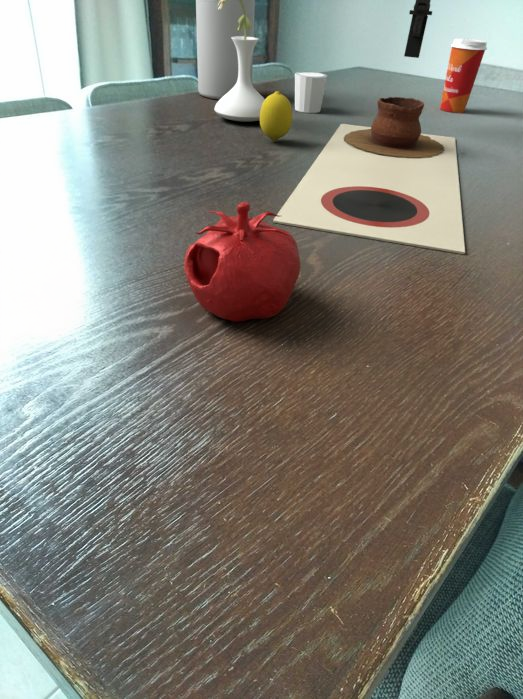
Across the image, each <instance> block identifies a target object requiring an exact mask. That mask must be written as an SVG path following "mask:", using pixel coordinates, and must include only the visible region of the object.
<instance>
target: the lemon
mask: <svg viewBox="0 0 523 699" xmlns="http://www.w3.org/2000/svg"><path fill="white" fill-rule="evenodd" d="M264 99H265V100H264V102H263V104H262V107H261V110H260V120H259V126H260V128H261V131H262V132H263V134H264V135H265V136H266V137H268V138H269V139H270V140H271V141H272V142H273V143H276V142H277V141H278V140H279V139H281V138H283V137H285V136H286V135H287V134H288V133H289V131H290V129H291V126H292V122H293V111H292V105H291V102H290V100H289V99H288V97H286V95H284V94H282V93H281V92H280V91H278V90H277V91H274V92H273V93H271V94H269V95H268V96H267V97H266V98H264Z"/></svg>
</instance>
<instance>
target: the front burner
mask: <svg viewBox="0 0 523 699" xmlns="http://www.w3.org/2000/svg"><path fill="white" fill-rule="evenodd" d="M321 203H322V205H323V207H324V208H325V209H326V210H327V211H329V212H330V213H332V214H333V215H335V216H337V217H339V218H342V219H344V220H347V221H351V222H354V223H358V224H362V225H368V226H375V227H389V228H395V227H407V226H413V225H417V224H419V223H422V222H424V221H425V220H426V219H427V218H428V217H429V214H430V213H429V210H428V208H427V207H426V205H424V204H423V203H422V202H421V201H419V200H417V199H415V198H413V197H411V196H409V195H406V194H403V193H400V192H397V191H393V190H388V189H383V188H376V187H363V186H353V187H343V188H337V189H334V190H331V191H329V192H327V193H325V194H324V195H323V196H322V198H321Z"/></svg>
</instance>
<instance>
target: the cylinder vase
mask: <svg viewBox="0 0 523 699" xmlns="http://www.w3.org/2000/svg"><path fill="white" fill-rule="evenodd" d="M219 2H220V0H195V15H196V16H195V18H196V19H195V20H196V21H195V22H196V23H195V24H196V57H197V58H196V59H197V60H196V61H197V63H196V64H197V91H198V94H199V95H200V96H202V97H204V98H207V99H212V100H217V101H219V100H220V99H221V98H222V97H223V96H224V95H225V94H227V93H228V92H229V91H230V90H231V89H232V88H233V87H234V86H235V85H236V83H237V80H238V71H239V69H238V55H237V49H236V46H235V44H234V42H233V40H232V38H231V37H236V36H243V37H244V29H243V28H241V30H240V31H239V32H237V29H238V27H239V23H238V20H239V18H240V17H241V16H242V15H243V9H242V6H241V3H240V0H227V1H226V3H225V5H224V6H223V8H222V9H221V10H220V9H219V10H218V8H219V7H220V5H221V4H220V5H219V6H218V4H219ZM242 2H243V6H244V9H245V14H246V16H247V18H248V20H249V21H250V23H251V25H252V27H251V28H250V29H248V30H246V37H254V38H255V36H254V34H255V8H256V0H242ZM253 64H254V52H253V53H252V57H251V65H250V79H251V83H252V84H253V70H254V69H253V67H254V65H253Z"/></svg>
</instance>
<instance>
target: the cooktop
mask: <svg viewBox="0 0 523 699" xmlns="http://www.w3.org/2000/svg"><path fill="white" fill-rule="evenodd" d="M371 127H372V126H363V125H354V124H347V123H340V125H339V126H338V128H337V129H336V130H335V132H334V133H333V135H332V136H331V137H330V139H329V140H328V141H327V143H326V145H325V146H324V147H323V149H321V151H320V153H319V155H318V156H317V157H316V159H315V160H314V161H313V163H312V165H310V167H309V169H308V170H307V172H306V173H305V175H304V176H303V177H302V179H301V180H300V181H299V183H298V184H297V186H296V187H295V189H294V190H293V191H292V193H291V194H290V195H289V197H288V198H287V200H286V201H285V203H284V204H283V205H282V206H281V208H280V210H279V211H278V212H277V214H276V215H279V216H280V217H278V216H274V218H273V220H272V223H274V224H278V225H285V226H289V227H290V226H291V227H297V228H302V229H308V230H314V231H315V230H316V231H321V232H325V233H326V232H327V233H334V234H338V235H345V236H349V237H350V236H351V237H357V238H363V239H368V240H369V239H370V240H376V241H381V242H387V243H393V244H399V245H405V246H411V247H417V248H423V249H430V250H434V251H435V250H436V251H441V252H447V253H454V254H458V255H465V254H466V246H465V236H464V234H465V233H464V223H463V213H462V212H463V211H462V201H461V190H460V189H461V188H460V180H459V179H460V178H459V167H458V156H457V145H456V137H454V136H452V137H451V136H443V135H435V134H429V133H428V134H427V133H421V135H423V136H428V137H430V138H431V139H432V140H435V141H437V142H439V143H440V144H442V145H443V147H444V151H443V152H442V153H439V154H437V155H433V156H432V157H420V158H417V157H413V158H412V157H398V156H391V155H390V156H388V155H384V154H377V153H374V152H370V151H365V150H363V149H360V148H357V147H355V146H352V145H350V144H348V143H347V142H345V141H344V137H345V135H346V134H349V133H350V132H353V131H357V130H366V129H371ZM353 186H363V187H376V188H383V189H388V190H393V191H397V192H400V193H403V194H406V195H409V196H411V197H413V198H415V199H417V200H419V201H421V202H422V203H423V204H424V205H426V207H427V208H428V210H429V213H430V214H429V217H428V218H427V219H426V220H425V221H424V222H422V223H419V224H417V225H413V226H407V227H395V228H389V227H375V226H368V225H362V224H358V223H354V222H351V221H347V220H344V219H342V218H339V217H337V216H335V215H333V214H332V213H330V212H329V211H327V210H326V209H325V208H324V207H323V205H322V203H321V198H322V196H323V195H324V194H325V193H327V192H329V191H331V190H334V189H337V188H343V187H353ZM281 215H282V216H281Z"/></svg>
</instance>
